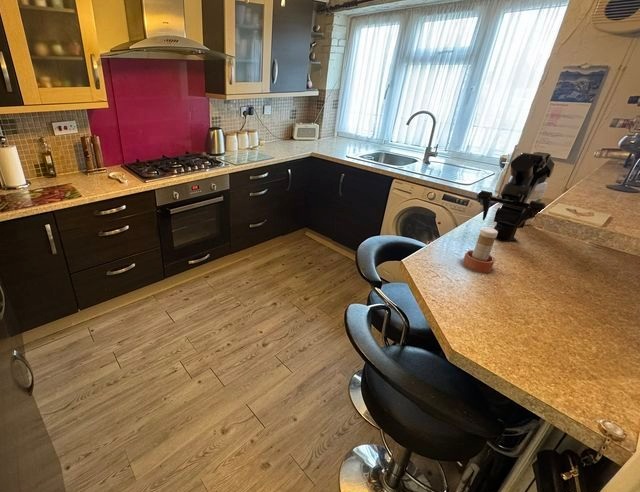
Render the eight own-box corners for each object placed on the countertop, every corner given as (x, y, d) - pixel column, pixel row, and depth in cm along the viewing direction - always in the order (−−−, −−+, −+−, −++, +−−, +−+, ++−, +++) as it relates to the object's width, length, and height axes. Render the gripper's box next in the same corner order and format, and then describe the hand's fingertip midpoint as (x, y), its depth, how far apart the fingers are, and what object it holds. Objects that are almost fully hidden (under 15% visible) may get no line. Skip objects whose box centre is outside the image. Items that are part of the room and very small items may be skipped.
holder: (479, 259, 113) (483, 249, 112) (496, 272, 106) (500, 262, 104) (457, 260, 113) (460, 250, 112) (473, 273, 106) (476, 262, 104)
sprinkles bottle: (476, 260, 112) (488, 225, 107) (488, 267, 108) (501, 231, 103) (465, 262, 111) (477, 227, 105) (478, 269, 107) (491, 233, 101)
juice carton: (501, 219, 145) (516, 178, 137) (518, 218, 145) (534, 178, 137) (516, 226, 138) (533, 184, 130) (534, 225, 139) (552, 183, 131)
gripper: (485, 168, 114) (467, 207, 112) (556, 180, 101) (535, 223, 100) (486, 183, 122) (468, 219, 121) (551, 195, 109) (532, 236, 108)
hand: (498, 223), depth 112 cm, fingers open, 9 cm apart
